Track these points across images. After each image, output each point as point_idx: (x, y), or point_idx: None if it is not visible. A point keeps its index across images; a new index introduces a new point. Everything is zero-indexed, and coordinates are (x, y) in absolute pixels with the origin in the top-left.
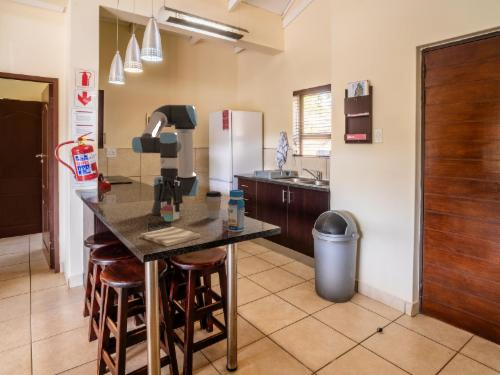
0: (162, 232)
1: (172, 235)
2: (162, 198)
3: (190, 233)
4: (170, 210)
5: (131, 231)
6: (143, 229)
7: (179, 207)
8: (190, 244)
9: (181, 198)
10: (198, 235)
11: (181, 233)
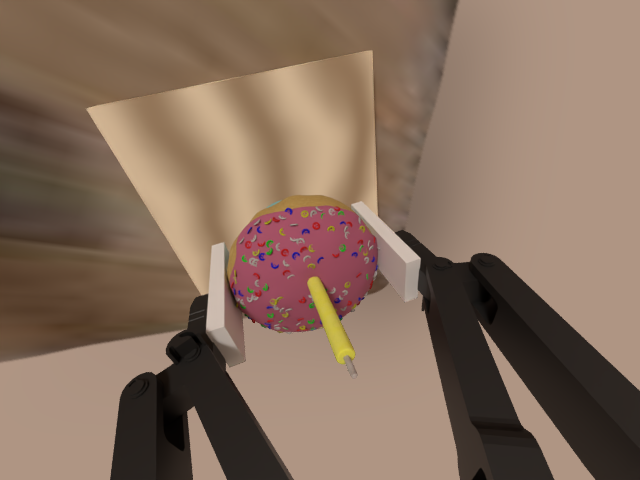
0: (223, 217)
1: (303, 193)
2: (242, 397)
3: (324, 93)
4: (371, 286)
5: (69, 312)
6: (30, 264)
7: (425, 247)
8: (412, 154)
9: (523, 293)
10: (370, 64)
11: (294, 139)
